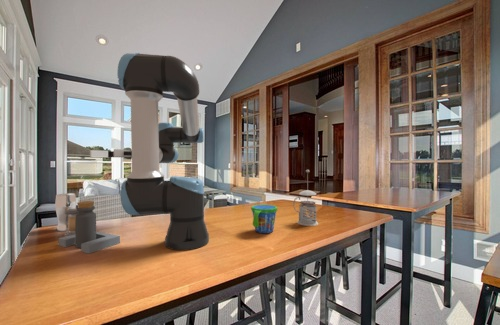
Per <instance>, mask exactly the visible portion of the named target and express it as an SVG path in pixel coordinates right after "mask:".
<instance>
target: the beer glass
mask: <svg viewBox="0 0 500 325" xmlns="http://www.w3.org/2000/svg"><path fill="white" fill-rule="evenodd" d="M54 203H55V204H54V205H55V206H54V207H55V208H54V209H55V212H56V213H55V214H56V217H57V227H56V231H57V232H68V231H69V228H68V217H70V215H67V214H65V211H66V210H69V209H76V208H77V198H76V193H74V192H72V193H71V192H69V193H58V194H55V201H54ZM69 232H70V231H69Z"/></svg>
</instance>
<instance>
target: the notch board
mask: <svg viewBox="0 0 500 325" xmlns="http://www.w3.org/2000/svg"><path fill="white" fill-rule="evenodd" d="M118 244H121V235H119V234H118V235H117V234H113V233H112V234H111V233H106V232H102V231H97V230H96V240H92V241H89V242H86V243H82V244H81V248H80V251H81V253H85V254H88V255H89V254H91V253H95V252H98V251H101V250H103V249H107V248H109V247H112V246H115V245H118ZM58 246H59V247H64V248H68V247H70V246H76V234H73V235H69V236H65V235H64V236H62V237H59V238H58Z"/></svg>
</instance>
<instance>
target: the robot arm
mask: <svg viewBox="0 0 500 325" xmlns="http://www.w3.org/2000/svg"><path fill="white" fill-rule="evenodd" d="M117 79H118V85H119V87H120V88H121V90H124V93H125V96H126V97H127V98H128V99H130V125H131V126H130V130H131V131H130V132H131V133H130V136H131V137H130V139H131V140H130V141H131V142H130V143H131V149H118V148H114V149H113V150H110V151H109V150H99V149H98V150H96V149H90V150H89V158H105V160H109V158H125V159H128V160H129V159H131V172H130V173H129V174H128V175H127V176H126V180H125V181H123V182H122V184H121V186H120V190H119V194H120V195H119V198H120V204H121V207H122V208H123V211H124V212H125V213H127V214H128V215H130V216H142V217H143V216H150V215H151V216H152V215H170V216H169V217H170V220H169V221H170V222H169V225H168V228H167V231H166V235H165V237H164V246H165V247H166V248H168V249H170V250H174V251H175V250H178V251H185V250H186V251H187V250H188V251H189V250H193V249H194V250H195V249H199V248H202V247H204V246H206V245H207V244H208V243H209V242H210V235H209V232H208V228H207V224H206V223H205V202H204V200H205V198H204V196H205V190H204V188H205V187H204V182H203V180H201V179H199V178H195V177H194V178H193V177H188V176H177V175H176V176H174V175H173V176H170V177H169V180H165V175H164V174H163V172H161V171H160V164H172V163H175V162H177V160H178V159H179V152H178V150H177V149H176V148H174V145H175V144H177V143H179V144H182V143H183V144H202V143H203V142H204V140H205V138H204V137H205V134H204V128H203V127H200V125H199V124H200V121H199V105H198V96H199V95H200V84H199V80H198V78H197V76H196V74H195V72H194V71H193V70H192V68H190V66H189V65H188V64H187V63H185V61H183V60H181V59H180V58H178V57H176V56H173V55H159V54H148V53H140V52H135V53H130V52H129V53H124V54H122V56H121V57H120V59H119V60H118V64H117ZM164 92H165V93H173V95H174V97H175V98H176V99H177V103H178V109H179V114H180V119H181V127H177V126H174V124H173V123H171V122H159V102H160V101H161V100H162V99H163V97H164V96H163V95H164Z"/></svg>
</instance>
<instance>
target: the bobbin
mask: <svg viewBox="0 0 500 325" xmlns="http://www.w3.org/2000/svg"><path fill="white" fill-rule="evenodd" d="M77 208H78V207H76V209H69V210H66V211H65V214H67V215H70V217H68V228H69V232H68V231H67V232H66V233H65V234H64V237H65V236H69V235H73V234H76V232H75V218H76V215H77V214H79V211H77Z"/></svg>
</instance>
